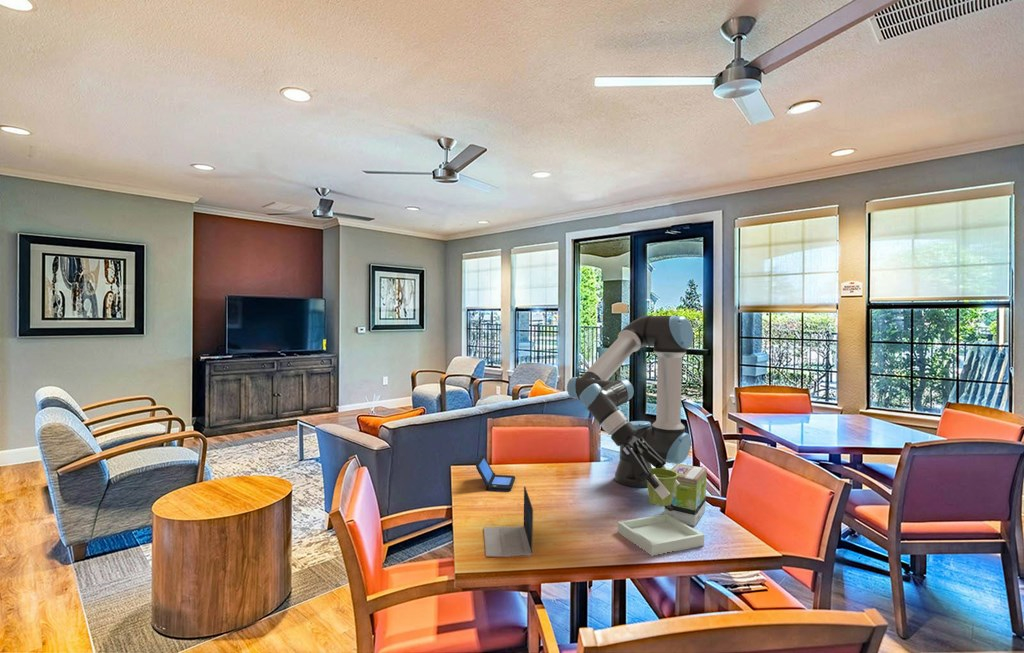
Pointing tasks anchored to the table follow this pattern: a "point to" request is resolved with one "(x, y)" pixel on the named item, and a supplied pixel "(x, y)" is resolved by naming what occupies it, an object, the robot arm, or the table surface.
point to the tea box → (688, 494)
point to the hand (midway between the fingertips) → (671, 491)
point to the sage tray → (660, 534)
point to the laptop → (511, 536)
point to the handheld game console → (494, 477)
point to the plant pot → (667, 480)
